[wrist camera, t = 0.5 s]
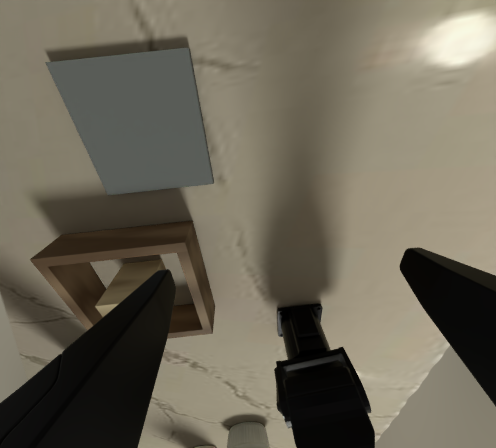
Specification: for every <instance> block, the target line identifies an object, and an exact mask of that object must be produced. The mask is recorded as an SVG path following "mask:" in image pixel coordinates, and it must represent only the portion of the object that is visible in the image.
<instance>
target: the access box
mask: <svg viewBox="0 0 496 448" xmlns="http://www.w3.org/2000/svg"><path fill="white" fill-rule="evenodd" d="M167 253H177V254H178V257H179V260H180V263H181V266H182V269H183V272H184V275H185V278H186V281H187V284H188V287H189V290H190V293H191V296H192V299H193V301H194V304H188V305H179V306H173V310H172V317H171V323H170V329H169V333H168V337H167V339H168V338H177V337H186V336H195V335H204V334H213V324H214V313H215V304H214V300H213V296H212V293H211V289H210V285H209V281H208V278H207V274H206V270H205V266H204V262H203V259H202V255H201V251H200V247H199V243H198V240H197V236H196V232H195V228H194V224H193V221H185V222H176V223H167V224H157V225H148V226H139V227H130V228H121V229H112V230H103V231H93V232H84V233H75V234H66V235H61V236H60V237H58V238H57V239H56V240H54V241H53V242H52V243H51V244H49V245H48V246H47V247H45V248H44V249H43V250H42V251H40V252H39V253H38V254H36V255H35V256H34V257H33V258H31V259H30V260H31V262H32V263H33V264H34V265H35V266H36V268H37V269H38V270H39V271H40V273H41V274H42V275H43V276H44V277H45V279H46V280H47V281H48V282H49V284H50V285H51V286H52V287H53V288H54V290H55V291H56V292H57V293H58V295H59V296H60V297H61V298H62V299H63V301H64V302H65V303H66V304H67V306H68V307H69V308H70V309H71V310H72V312H73V313H74V314H75V315H76V317H77V318H78V319H79V320H80V321H81V323H82V324H83V325H84V326H85V328H86V329H87V330H89V329H90V328H91V327H92V326H93V325H95V324H96V323H97V322H98V321H99V320H100V319H102V318H103V317H102V315H101V314H100V312H99V311H98V310H97V308H96V307H95V306H96V304H97V303H98V301H99V300H100V298H101V297H102V295H103V294H104V292H105V291H106V288H105V287H104V285H103V284H102V282H101V281H100V279H99V277H98V276H97V274H96V273H95V271H94V270H93V268H92V266H91V265H90V263H89V262H95V261H104V260H113V259H122V258H131V257H140V256H149V255H158V254H167Z"/></svg>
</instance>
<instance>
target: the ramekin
mask: <svg viewBox="0 0 496 448" xmlns="http://www.w3.org/2000/svg"><path fill="white" fill-rule="evenodd" d="M227 448H270V447H269V442H268V437H267V432H266V429H265V427H264V426H263V425H262V424H261V423H257V422H244V423H239V424H236V425H234V426H232V427H231V429H230V431H229V434H228V442H227Z"/></svg>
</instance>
